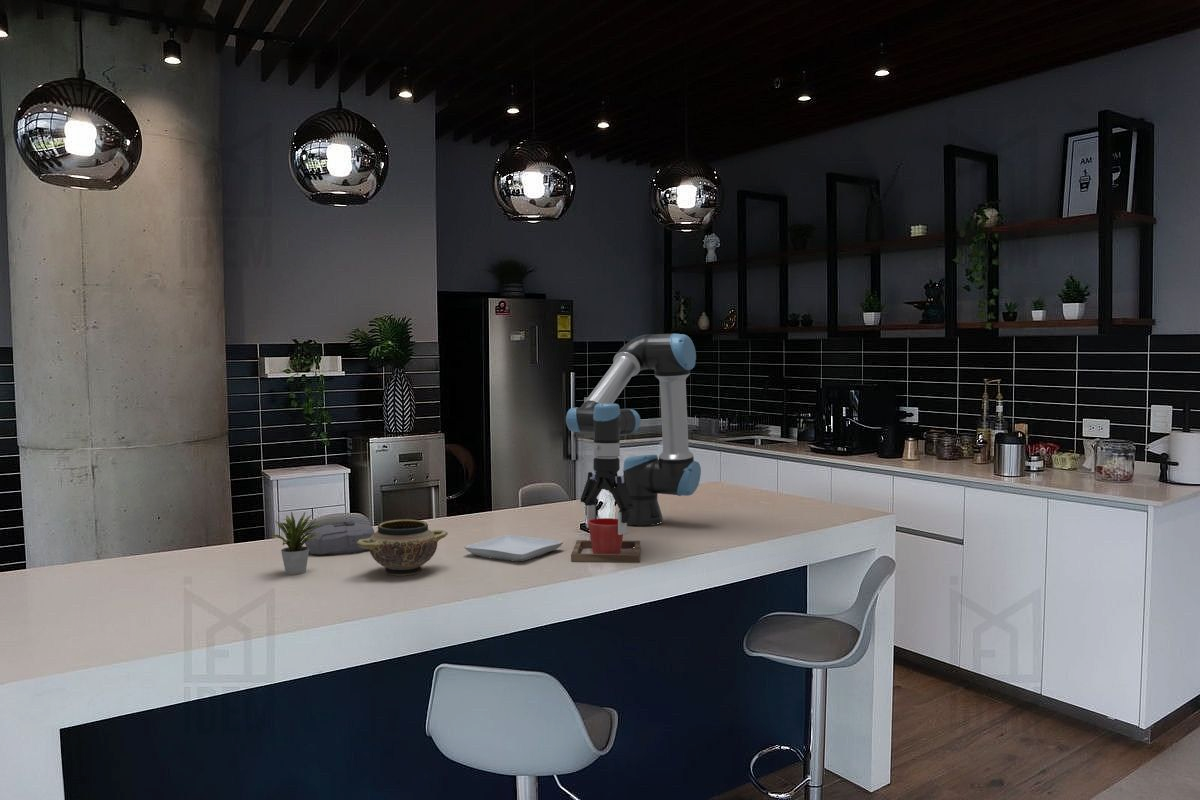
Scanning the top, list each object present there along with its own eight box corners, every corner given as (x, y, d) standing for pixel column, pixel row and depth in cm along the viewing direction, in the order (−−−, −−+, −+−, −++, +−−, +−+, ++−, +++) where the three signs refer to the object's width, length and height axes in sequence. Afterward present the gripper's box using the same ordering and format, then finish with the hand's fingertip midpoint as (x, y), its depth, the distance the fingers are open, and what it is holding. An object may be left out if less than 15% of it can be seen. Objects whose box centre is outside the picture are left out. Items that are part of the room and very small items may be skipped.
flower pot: (626, 550, 255) (626, 517, 255) (623, 559, 244) (623, 525, 244) (590, 550, 256) (590, 517, 256) (586, 558, 246) (586, 524, 245)
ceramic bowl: (362, 593, 219) (365, 539, 215) (347, 562, 234) (350, 511, 230) (455, 582, 231) (459, 530, 227) (436, 552, 246) (439, 504, 242)
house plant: (312, 580, 222) (311, 517, 221) (259, 580, 223) (257, 517, 222) (330, 566, 236) (329, 507, 236) (280, 566, 237) (279, 507, 236)
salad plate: (506, 544, 267) (506, 533, 267) (564, 551, 256) (564, 540, 256) (462, 557, 248) (462, 545, 248) (522, 566, 238) (522, 554, 237)
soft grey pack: (367, 542, 269) (300, 549, 259) (366, 515, 268) (299, 522, 258) (380, 551, 256) (310, 559, 246) (379, 523, 255) (309, 530, 245)
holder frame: (576, 546, 261) (576, 540, 260) (640, 547, 259) (640, 540, 259) (571, 561, 242) (570, 554, 241) (639, 562, 240) (639, 555, 240)
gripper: (568, 454, 256) (568, 526, 257) (626, 461, 237) (626, 538, 238) (588, 453, 261) (587, 523, 262) (646, 459, 242) (645, 535, 243)
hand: (606, 530), depth 250 cm, fingers open, 13 cm apart
